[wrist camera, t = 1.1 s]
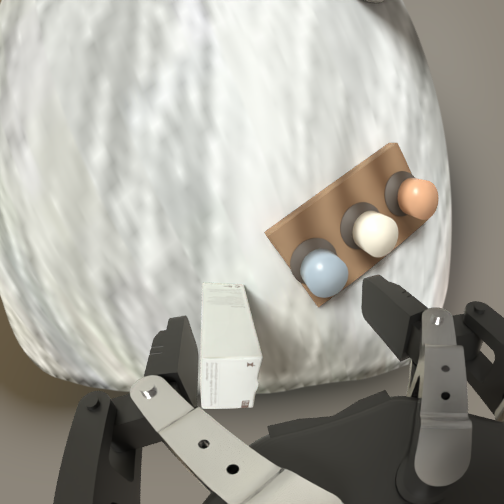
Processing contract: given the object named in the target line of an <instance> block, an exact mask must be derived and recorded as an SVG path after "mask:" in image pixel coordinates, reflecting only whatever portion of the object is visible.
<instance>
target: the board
mask: <svg viewBox="0 0 504 504" xmlns="http://www.w3.org/2000/svg"><path fill="white" fill-rule="evenodd" d="M408 178H415V177H414V176H413V175H412V174H411V171H410V169H409V167H408V165H407V162H406V160H405V158H404V156H403V154H402V152H401V149H400V147H399V145H398V143H388V144H387V145H385V146H384V147H383V148H381V149H380V150H378V151H377V152H375V153H374V154H373V155H371V156H370V157H368V158H367V159H366V160H364V161H363V162H361V163H360V164H359V165H357V166H356V167H354V168H353V169H352V170H350V171H349V172H347V173H346V174H345V175H343V176H342V177H340V178H339V179H337V180H336V181H335V182H333V183H332V184H331V185H329V186H328V187H326V188H325V189H324V190H322V191H321V192H319V193H318V194H317V195H315V196H314V197H312V198H311V199H310V200H308V201H307V202H305V203H304V204H303V205H301V206H300V207H298V208H297V209H296V210H294V211H293V212H292V213H290V214H289V215H287V216H286V217H285V218H283V219H282V220H280V221H279V222H278V223H276V224H275V225H274V226H272V227H271V228H269V229H268V230H267V231H265V232H264V233H265V234H266V236H267V237H268V239H269V240H270V241H271V243H272V244H273V245H274V247H275V248H276V249H277V251H278V252H279V254H280V255H281V256H282V258H283V259H284V260H285V262H286V263H287V265H288V266H289V267H290V269H291V271H292V274H293V275H294V277H295V278H296V279H297V280H298V281H299V282H301V284H302V285H303V287H304V288H305V289H306V291H307V292H308V294H309V295H310V296H311V298H312V299H313V301H314V302H315V303H316V305H317V306H318V307H319V306H321V305H322V304H324V303H325V302H326V301H328V300H329V299H331V298H332V297H333V296H331V297H327V298H322V297H318V296H316V295H314V294H313V293H312V292H311V291H310V289H309V288H308V286H307V285H306V283H305V282H304V280H303V279H302V277H301V273H300V268H301V264H302V262H303V260H304V258H305V257H306V256H307V255H308V254H309V253H310V252H312V251H314V250H317V249H328V250H330V251H332V252H333V253H334V254H335V255H336V256H338V257H339V258H340V259H341V260H342V261H343V262H344V263H345V264H346V266H347V268H348V279H347V282H346V284H345V286H344V287H343V289H344V288H346V287H347V286H348V285H350V284H351V283H352V282H354V281H355V280H356V279H357V278H359V277H360V276H361V275H363V274H364V273H365V272H366V271H368V270H369V269H370V268H372V267H373V266H374V265H375V264H377V263H378V262H379V261H380V260H382V259H383V258H384V257H385V256H386V255H385V256H383V257H373V256H371V255H370V254H369V253H367V252H366V251H364V250H363V249H361V248H360V247H359V246H357V244H356V243H355V242H354V239H353V233H352V232H353V226H354V223H355V221H356V220H357V218H358V217H359V216H360V215H361V214H363V213H364V212H367V211H375V212H378V213H380V214H383V215H385V216H388V217H390V218H391V219H393V220H394V221H395V223H396V225H397V227H398V240H397V243H396V245H395V247H394V248H393V250H394V249H395V248H396V247H397V246H398V245H400V244H401V243H402V242H403V241H404V240H406V239H407V238H408V237H409V236H410V235H411V234H412V233H414V232H415V231H416V230H417V229H418V228H419V227H420V226H422V225H423V224H424V223H425V222H426V221H427V220H428V219H426V220H421V219H418V218H416V217H413V216H411V215H408V214H406V213H404V212H403V211H402V210H401V209H400V207H399V204H398V191H399V188H400V186H401V184H402V183H403V182H404V181H405V180H406V179H408ZM393 250H392V251H393ZM387 255H388V254H387ZM343 289H342V290H343ZM342 290H341V291H342ZM334 296H335V295H334Z"/></svg>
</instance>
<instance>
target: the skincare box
mask: <svg viewBox="0 0 504 504" xmlns="http://www.w3.org/2000/svg"><path fill="white" fill-rule="evenodd" d="M262 360H263V355H262V351H261V348H260V344H259V340H258V337H257V333H256V329H255V325H254V321H253V318H252V314H251V310H250V306H249V302H248V299H247V295H246V291H245V287H244V285H242V284H222V283H206V282H204V283H202V309H201V346H200V384H201V404H202V408H207V409H214V408H215V409H220V408H245V407H246V408H247V407H253V404H254V398H255V392H256V390H257V388H258V385H259V382H258V376H259V370H260V366H261V363H262Z"/></svg>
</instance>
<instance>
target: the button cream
mask: <svg viewBox="0 0 504 504" xmlns="http://www.w3.org/2000/svg"><path fill="white" fill-rule="evenodd" d="M352 233H353V239H354V242H355V243H356V244H357V246H359V247H360V248H361V249H363V250H364V251H366V252H367V253H369V254H370V255H371V256H373V257H383V256H385V255H387V254H389V253H390V252H391V251H392V250H393V248H394V247H395V245H396V243H397V240H398V227H397V225H396V223H395V221H394V220H393V219H391V218H390V217H388V216H385V215H383V214H380V213H378V212H375V211H367V212H364V213H363V214H361V215H360V216H359V217H358V218H357V220H356V221H355V223H354V226H353V232H352Z"/></svg>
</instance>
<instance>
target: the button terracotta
mask: <svg viewBox="0 0 504 504" xmlns="http://www.w3.org/2000/svg"><path fill="white" fill-rule="evenodd" d="M398 204H399V207H400V209H401V210H402V211H403V212H404V213H406V214H408V215H411V216H413V217H416V218H418V219H421V220H426V219H429V218H430V217H431V216H432V215H433V214H434V212H435V211H436V208H437V205H438V192H437V189H436V187H435V186H434V184H433V183H431V182H430V181H426V180H421V179H416V178H408V179H406V180H405V181H404V182H403V183H402V184H401V186H400V188H399V191H398Z"/></svg>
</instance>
